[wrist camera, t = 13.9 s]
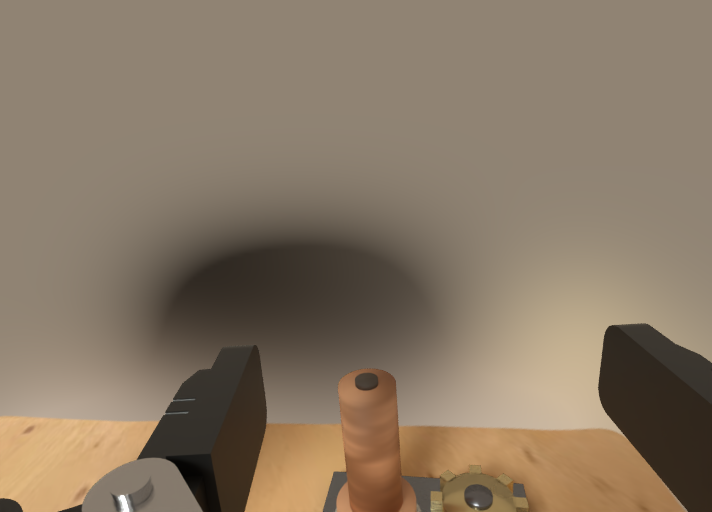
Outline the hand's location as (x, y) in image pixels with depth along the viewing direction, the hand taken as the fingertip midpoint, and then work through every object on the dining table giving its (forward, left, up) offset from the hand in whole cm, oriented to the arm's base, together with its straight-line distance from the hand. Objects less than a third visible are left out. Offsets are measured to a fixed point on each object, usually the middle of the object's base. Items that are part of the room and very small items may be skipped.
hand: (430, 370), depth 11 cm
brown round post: (-5, +18, -24) cm, 31 cm away
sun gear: (+3, +18, -25) cm, 31 cm away
